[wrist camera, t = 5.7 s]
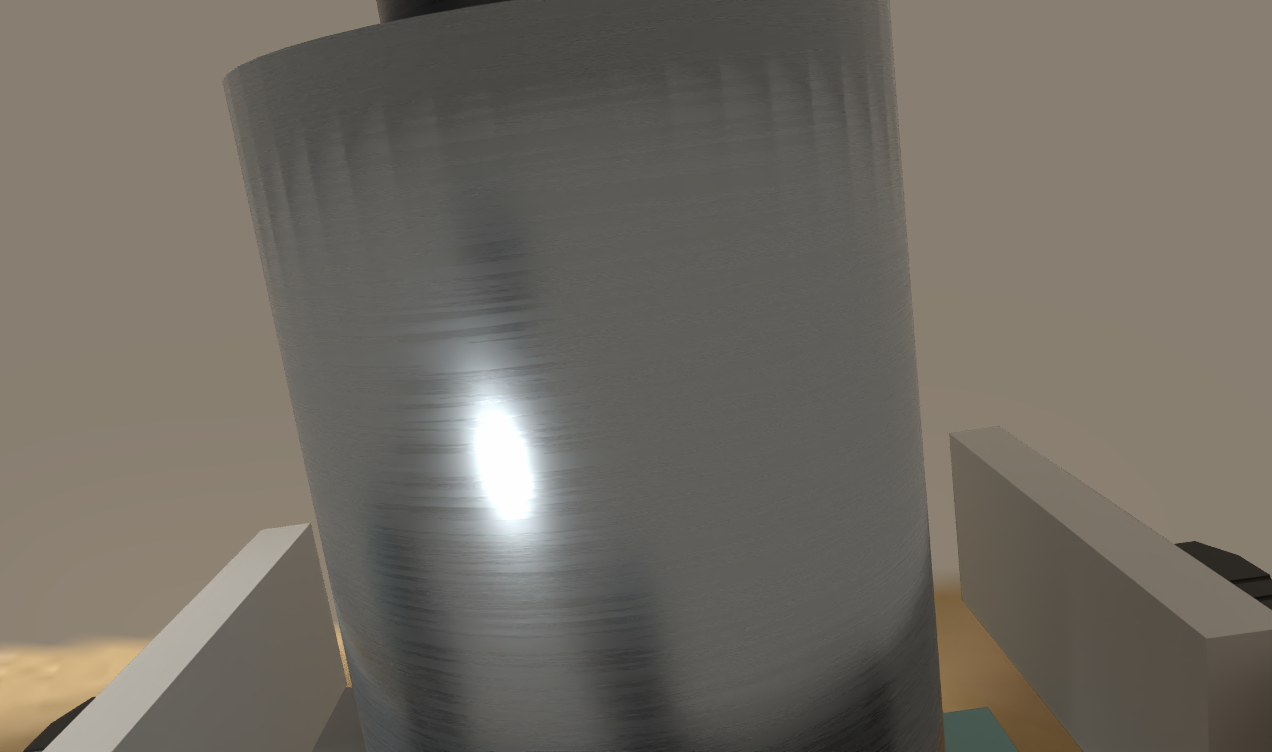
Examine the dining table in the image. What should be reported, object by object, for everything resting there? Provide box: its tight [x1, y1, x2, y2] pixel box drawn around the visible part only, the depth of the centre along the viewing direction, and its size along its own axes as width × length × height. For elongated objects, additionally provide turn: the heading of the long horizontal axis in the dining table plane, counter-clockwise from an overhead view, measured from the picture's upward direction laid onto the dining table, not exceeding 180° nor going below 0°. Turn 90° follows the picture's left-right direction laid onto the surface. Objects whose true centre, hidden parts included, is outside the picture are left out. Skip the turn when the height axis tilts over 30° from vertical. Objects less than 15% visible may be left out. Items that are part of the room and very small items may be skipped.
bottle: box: [223, 0, 946, 752], centre depth 11 cm, size 6×6×18 cm
